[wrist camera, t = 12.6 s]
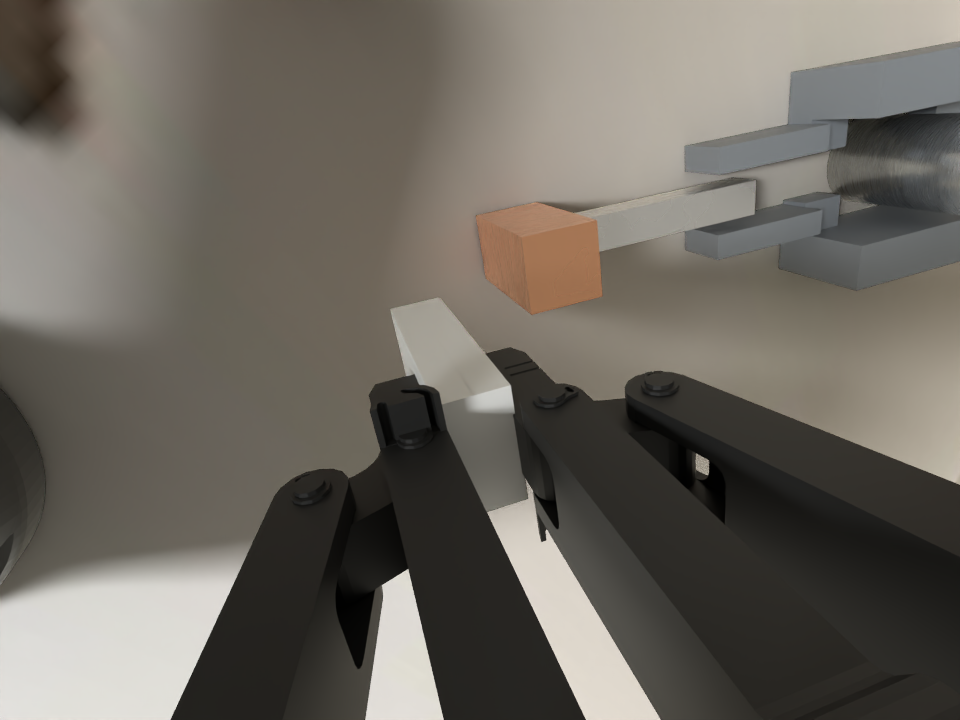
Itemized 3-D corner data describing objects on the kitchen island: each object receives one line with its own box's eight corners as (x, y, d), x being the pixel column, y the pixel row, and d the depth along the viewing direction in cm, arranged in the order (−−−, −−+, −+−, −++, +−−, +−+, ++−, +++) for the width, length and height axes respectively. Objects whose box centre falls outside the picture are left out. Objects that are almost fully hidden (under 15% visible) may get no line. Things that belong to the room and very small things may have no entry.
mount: (685, 293, 31) (751, 320, 26) (684, 91, 27) (761, 84, 22) (919, 231, 34) (1013, 246, 29) (950, 42, 30) (1065, 27, 25)
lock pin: (485, 278, 27) (531, 314, 22) (475, 215, 26) (521, 237, 20) (721, 221, 30) (814, 241, 24) (722, 161, 28) (820, 169, 23)
